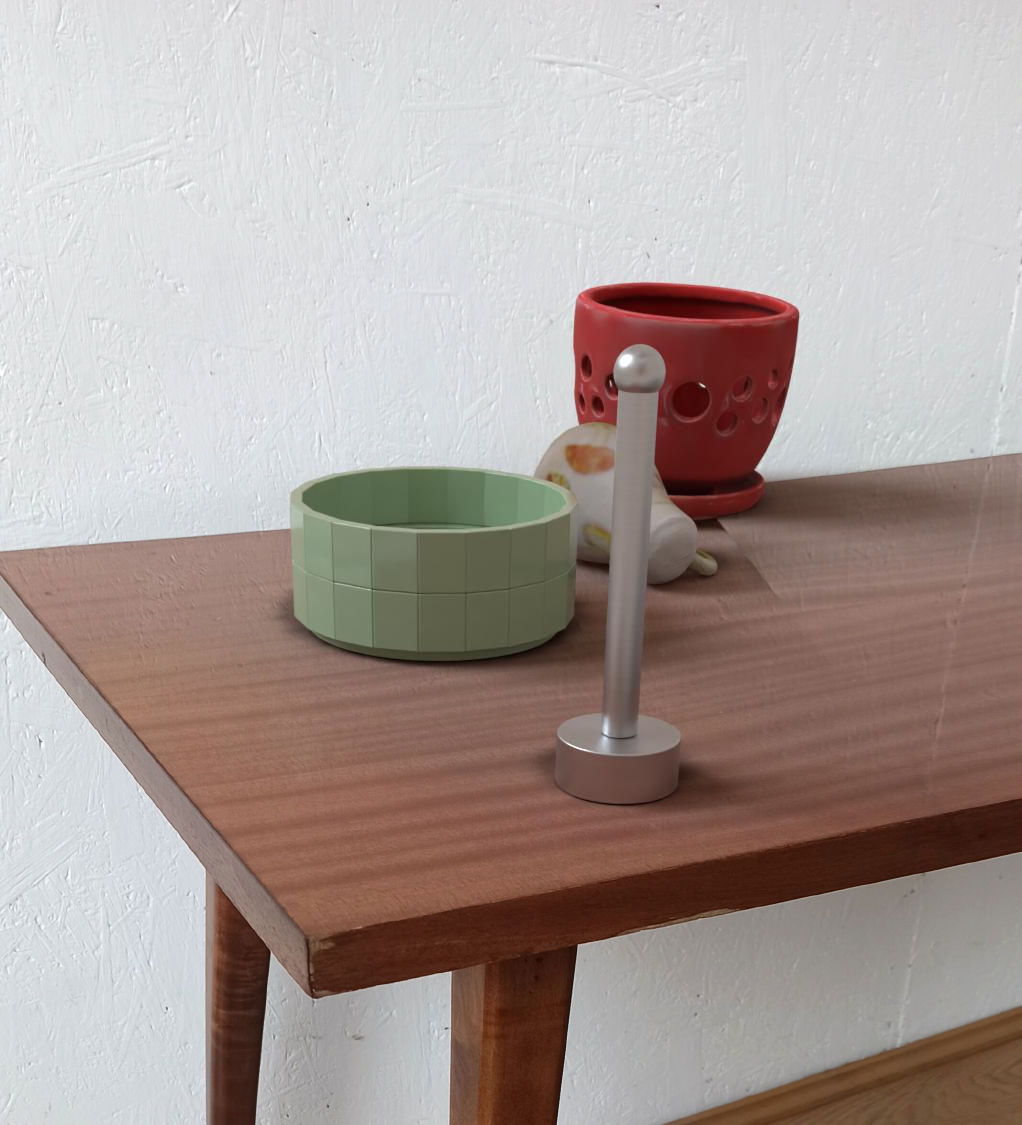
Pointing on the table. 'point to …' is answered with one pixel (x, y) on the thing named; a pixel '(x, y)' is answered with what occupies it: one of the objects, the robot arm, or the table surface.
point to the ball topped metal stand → (625, 620)
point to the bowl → (433, 561)
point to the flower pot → (694, 381)
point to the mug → (589, 474)
